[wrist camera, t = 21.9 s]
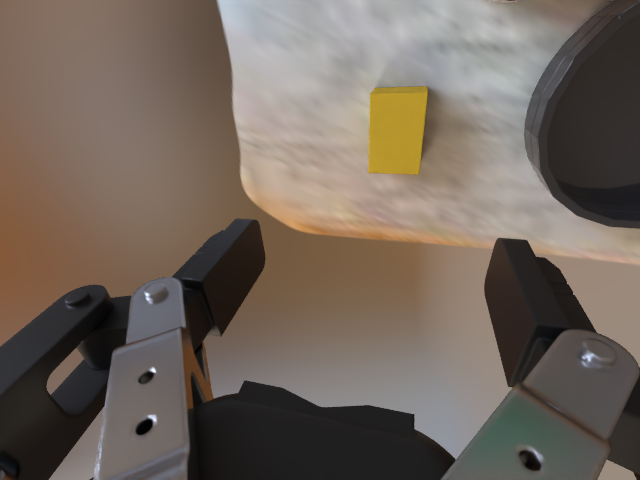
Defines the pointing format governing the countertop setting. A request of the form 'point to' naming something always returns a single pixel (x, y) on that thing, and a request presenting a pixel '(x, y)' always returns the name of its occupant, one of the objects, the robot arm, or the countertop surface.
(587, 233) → the countertop surface
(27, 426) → the robot arm
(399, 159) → the sponge
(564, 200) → the pan
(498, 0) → the milk bottle
